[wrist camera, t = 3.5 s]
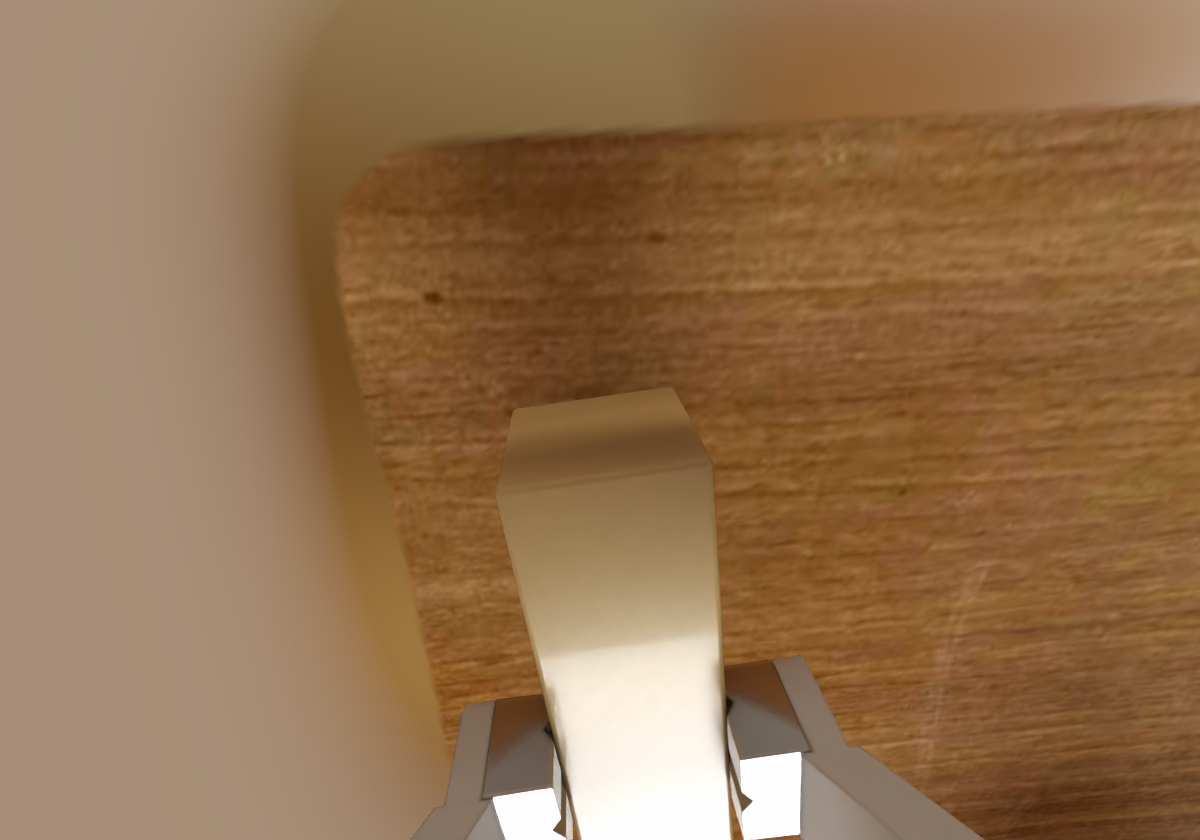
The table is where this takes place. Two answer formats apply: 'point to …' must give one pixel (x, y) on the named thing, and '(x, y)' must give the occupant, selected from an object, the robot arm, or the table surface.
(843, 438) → the table surface
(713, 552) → the beige rectangular block
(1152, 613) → the table surface
